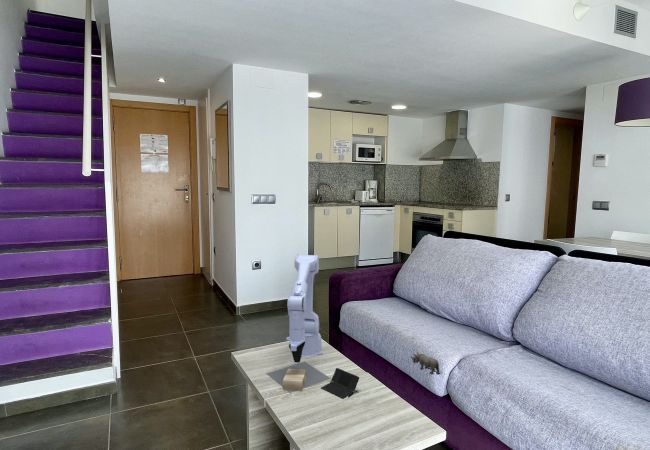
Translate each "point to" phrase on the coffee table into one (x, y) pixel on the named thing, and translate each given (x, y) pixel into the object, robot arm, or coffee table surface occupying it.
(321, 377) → the charcoal mat
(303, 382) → the maple slab
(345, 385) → the handheld gaming console
